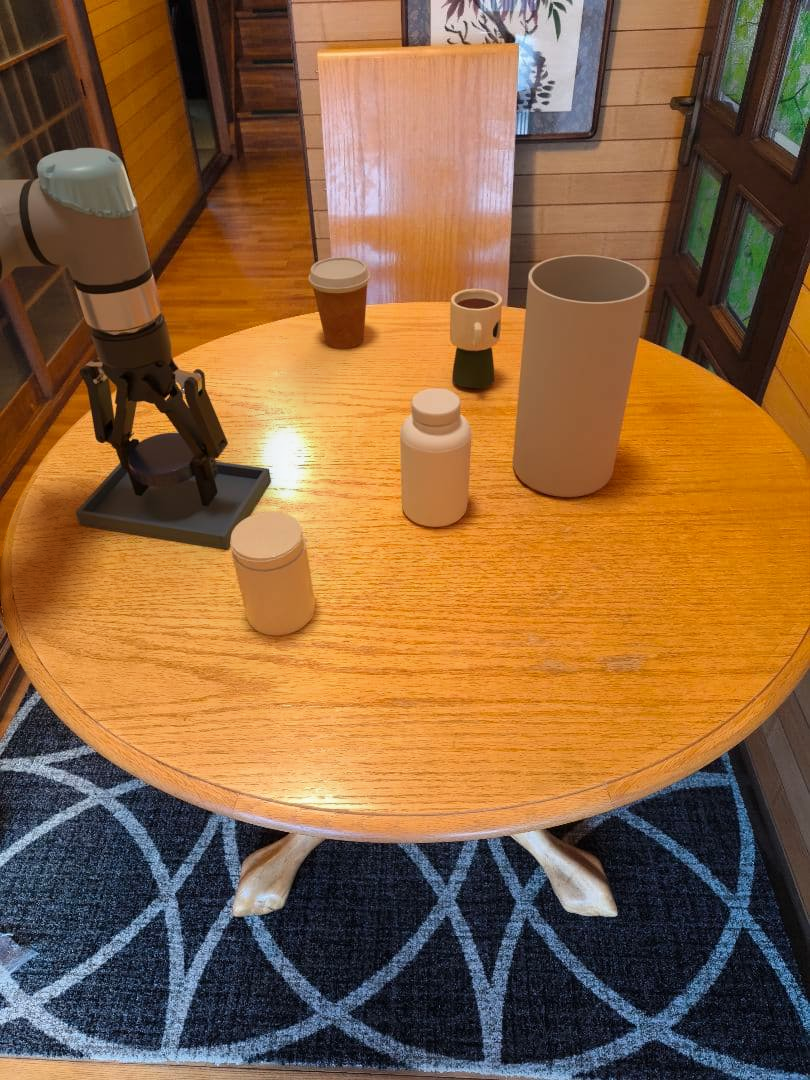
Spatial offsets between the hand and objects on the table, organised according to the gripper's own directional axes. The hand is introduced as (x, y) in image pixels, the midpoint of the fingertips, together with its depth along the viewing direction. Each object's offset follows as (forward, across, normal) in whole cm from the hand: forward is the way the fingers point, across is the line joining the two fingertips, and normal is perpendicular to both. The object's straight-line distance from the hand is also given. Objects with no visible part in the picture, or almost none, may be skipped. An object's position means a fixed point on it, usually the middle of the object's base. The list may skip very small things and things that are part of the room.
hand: (176, 493), depth 93 cm
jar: (+1, -19, +14) cm, 24 cm away
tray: (+1, 0, 0) cm, 1 cm away
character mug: (+2, -30, -36) cm, 47 cm away
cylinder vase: (+2, -45, -17) cm, 48 cm away
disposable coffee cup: (+2, -7, -45) cm, 46 cm away
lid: (-6, 0, 0) cm, 6 cm away
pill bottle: (+2, -31, -6) cm, 32 cm away
